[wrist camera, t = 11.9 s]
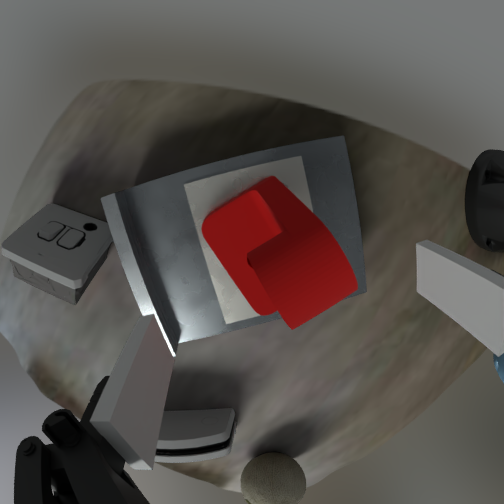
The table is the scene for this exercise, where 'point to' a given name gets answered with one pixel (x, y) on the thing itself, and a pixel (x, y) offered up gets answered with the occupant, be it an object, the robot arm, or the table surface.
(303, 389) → the table surface
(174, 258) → the grey ridged box
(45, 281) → the electrical switch
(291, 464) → the fruit
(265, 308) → the bracket
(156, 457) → the grey curved slab
